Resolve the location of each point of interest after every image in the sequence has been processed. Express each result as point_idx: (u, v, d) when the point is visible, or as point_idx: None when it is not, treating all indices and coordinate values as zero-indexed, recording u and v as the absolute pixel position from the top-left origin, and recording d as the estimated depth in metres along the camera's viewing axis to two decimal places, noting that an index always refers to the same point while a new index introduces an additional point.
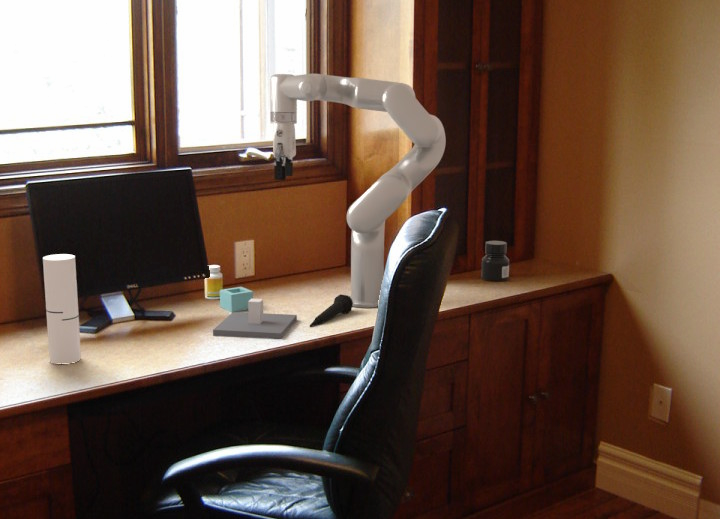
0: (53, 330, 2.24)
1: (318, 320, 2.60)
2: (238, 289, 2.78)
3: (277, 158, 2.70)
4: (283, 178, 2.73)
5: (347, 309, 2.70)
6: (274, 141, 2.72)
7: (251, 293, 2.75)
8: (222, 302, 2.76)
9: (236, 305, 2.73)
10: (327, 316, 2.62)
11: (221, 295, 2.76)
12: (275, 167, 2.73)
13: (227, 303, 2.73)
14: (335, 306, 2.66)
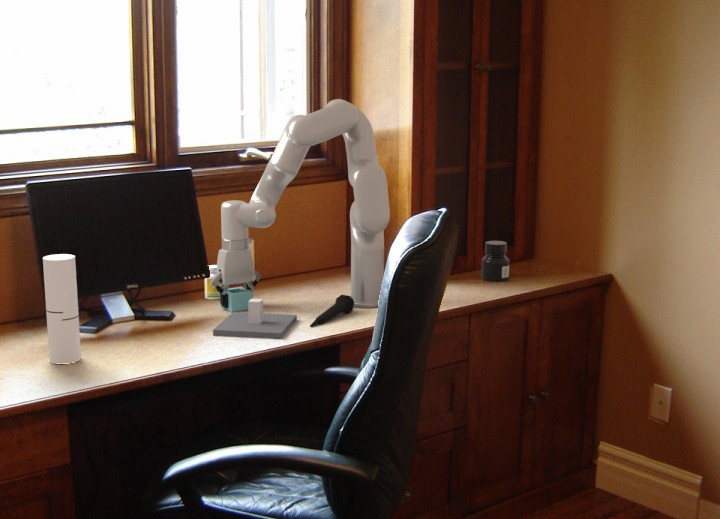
0: (53, 330, 2.24)
1: (319, 320, 2.59)
2: (238, 289, 2.78)
3: None
4: None
5: (348, 309, 2.70)
6: None
7: (251, 293, 2.75)
8: None
9: (236, 305, 2.73)
10: (328, 316, 2.62)
11: None
12: None
13: None
14: (336, 306, 2.66)
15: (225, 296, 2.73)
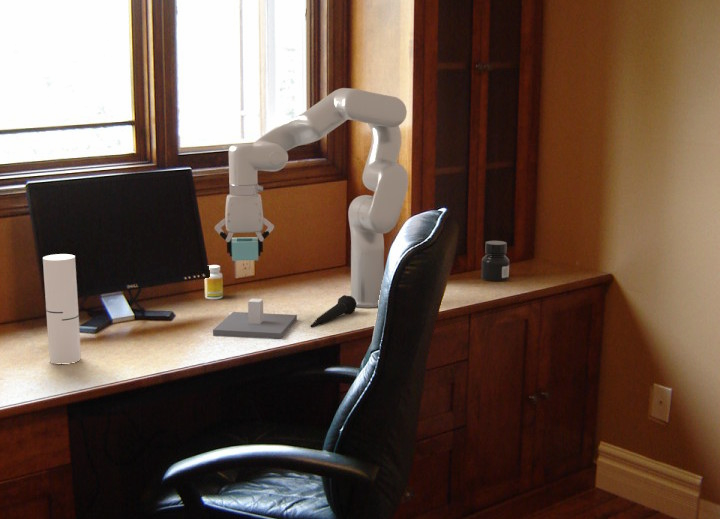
0: (53, 330, 2.24)
1: (319, 321, 2.59)
2: (251, 239, 2.64)
3: None
4: None
5: (350, 310, 2.69)
6: (262, 214, 2.59)
7: (255, 243, 2.59)
8: None
9: (238, 254, 2.59)
10: (329, 316, 2.62)
11: None
12: (260, 243, 2.61)
13: None
14: (338, 307, 2.66)
15: (229, 244, 2.60)
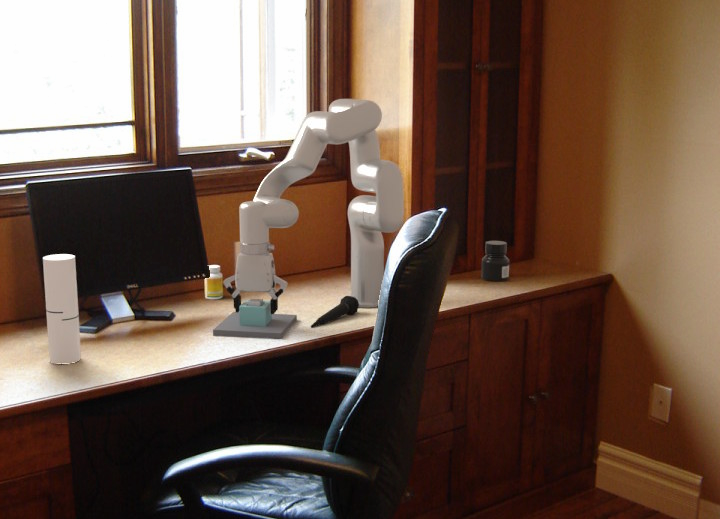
0: (53, 330, 2.24)
1: (320, 321, 2.59)
2: None
3: (284, 289, 2.53)
4: (275, 310, 2.56)
5: (352, 310, 2.68)
6: (271, 274, 2.51)
7: (263, 309, 2.52)
8: None
9: (245, 319, 2.53)
10: (330, 317, 2.61)
11: None
12: (273, 301, 2.53)
13: None
14: (339, 307, 2.65)
15: None
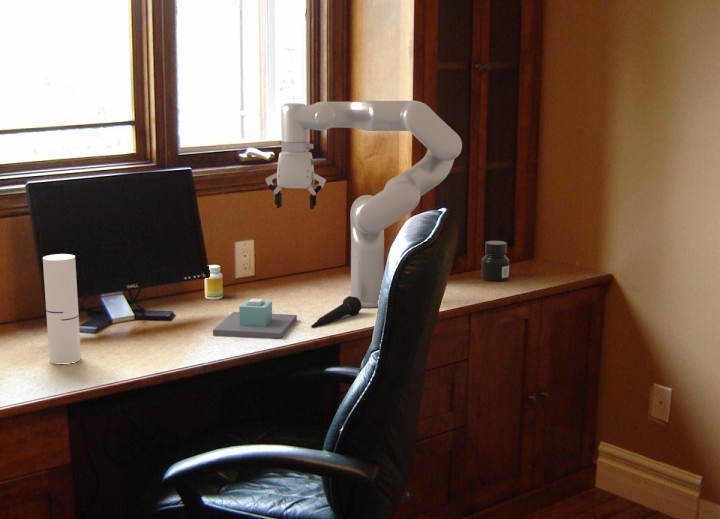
0: (53, 330, 2.24)
1: (321, 321, 2.58)
2: None
3: (322, 186, 2.72)
4: (314, 206, 2.75)
5: (355, 311, 2.68)
6: (310, 171, 2.70)
7: (263, 309, 2.52)
8: None
9: (245, 319, 2.53)
10: (331, 317, 2.61)
11: None
12: (312, 196, 2.72)
13: None
14: (341, 308, 2.65)
15: (276, 196, 2.74)
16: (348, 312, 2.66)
